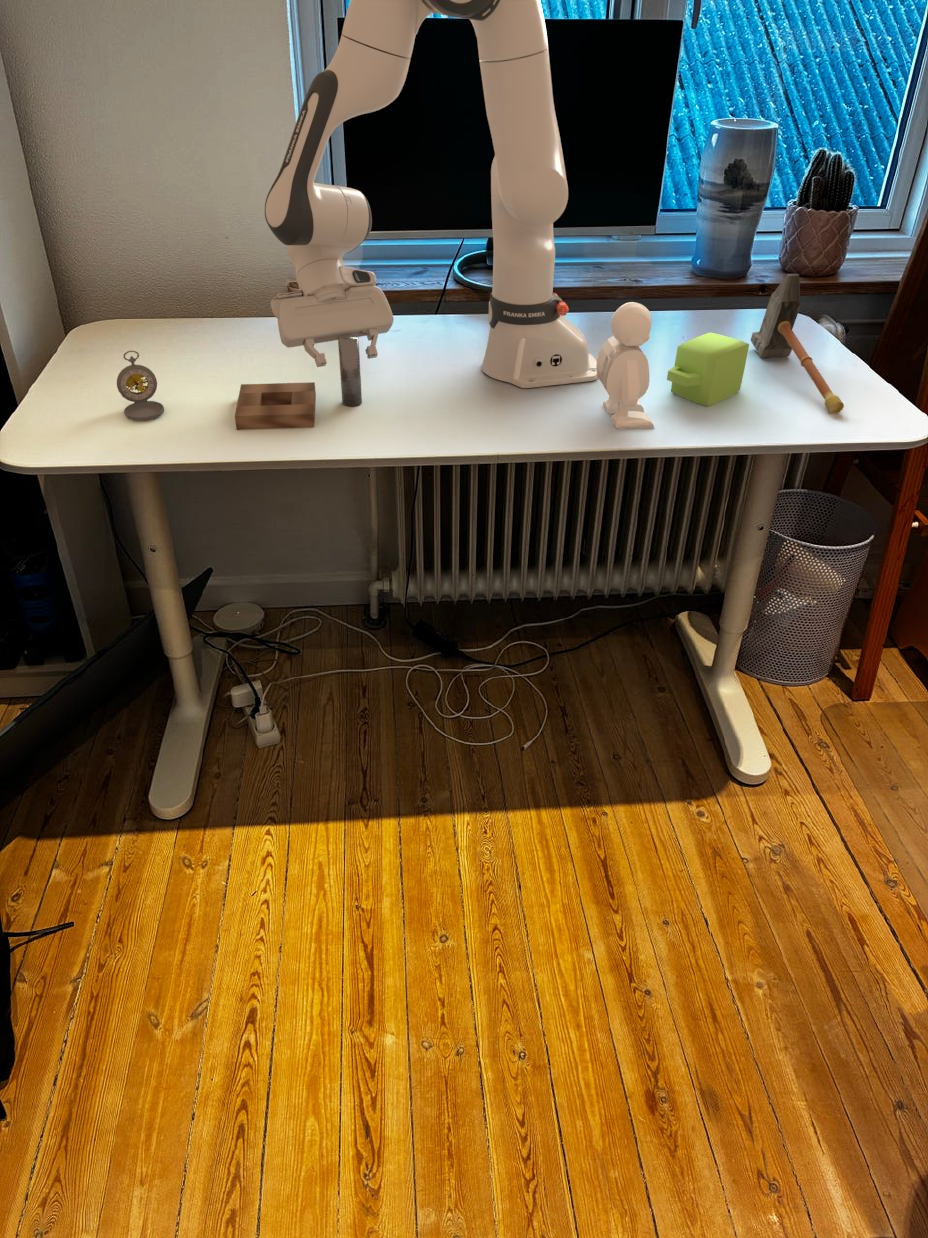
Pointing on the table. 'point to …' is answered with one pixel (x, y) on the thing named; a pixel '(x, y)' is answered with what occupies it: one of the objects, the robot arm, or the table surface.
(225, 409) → the table surface
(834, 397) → the hammer
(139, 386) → the pocket watch
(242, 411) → the socket plate
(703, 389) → the lime green lipped cube
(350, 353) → the steel pin
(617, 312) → the toy robot
